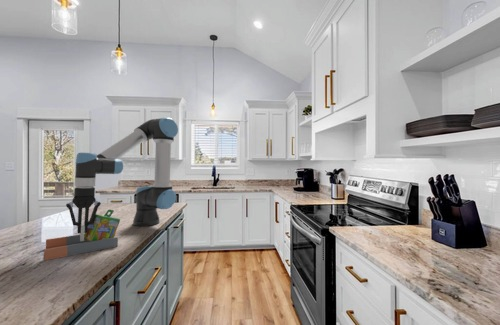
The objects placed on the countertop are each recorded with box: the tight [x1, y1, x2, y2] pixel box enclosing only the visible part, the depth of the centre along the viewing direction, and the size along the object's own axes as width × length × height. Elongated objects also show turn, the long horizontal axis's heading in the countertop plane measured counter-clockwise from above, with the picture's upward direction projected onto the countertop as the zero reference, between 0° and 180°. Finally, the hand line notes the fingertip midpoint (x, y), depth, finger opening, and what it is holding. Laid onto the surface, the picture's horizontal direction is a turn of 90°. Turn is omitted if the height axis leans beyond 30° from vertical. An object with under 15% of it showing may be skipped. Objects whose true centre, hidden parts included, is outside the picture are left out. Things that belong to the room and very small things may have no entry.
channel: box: [43, 233, 119, 261], centre depth 105 cm, size 25×16×4 cm, turn 129°
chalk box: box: [84, 209, 121, 242], centre depth 110 cm, size 9×9×15 cm
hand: (81, 240), depth 104 cm, fingers closed
